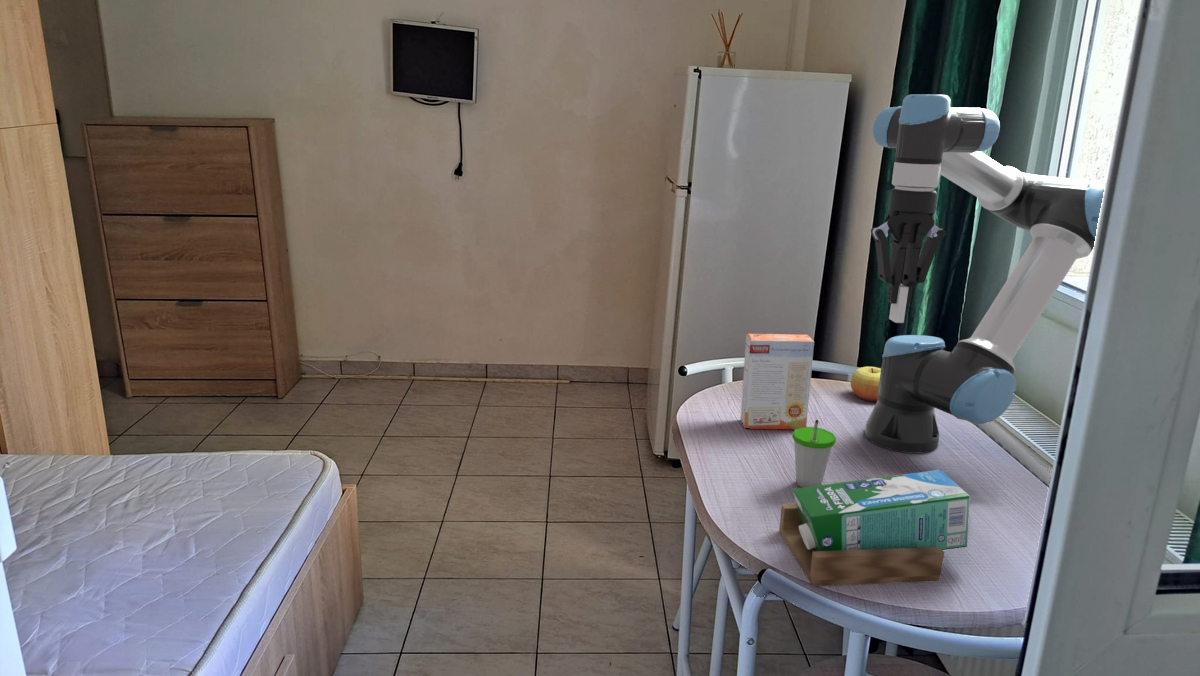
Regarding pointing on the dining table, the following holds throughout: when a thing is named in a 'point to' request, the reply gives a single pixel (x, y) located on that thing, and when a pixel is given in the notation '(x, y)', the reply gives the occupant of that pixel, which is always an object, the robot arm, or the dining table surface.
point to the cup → (812, 454)
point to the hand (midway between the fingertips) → (896, 320)
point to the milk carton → (885, 513)
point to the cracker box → (776, 381)
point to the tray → (859, 560)
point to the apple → (866, 383)
